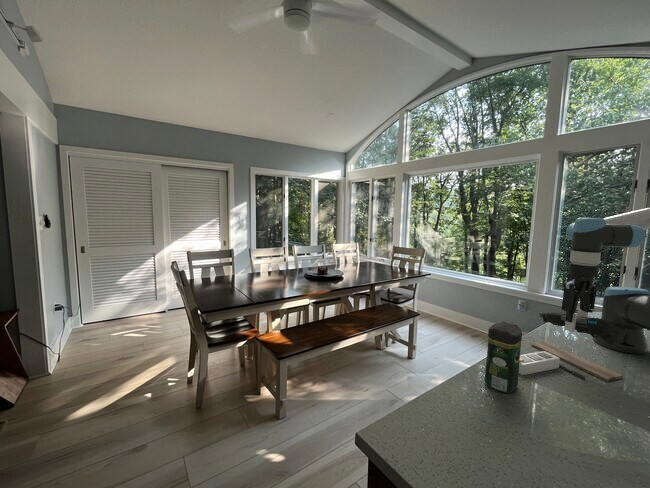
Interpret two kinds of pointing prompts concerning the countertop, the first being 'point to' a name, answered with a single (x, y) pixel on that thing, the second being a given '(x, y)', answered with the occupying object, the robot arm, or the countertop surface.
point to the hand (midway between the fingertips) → (575, 329)
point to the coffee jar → (503, 357)
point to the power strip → (541, 363)
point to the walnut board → (578, 361)
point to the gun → (584, 325)
